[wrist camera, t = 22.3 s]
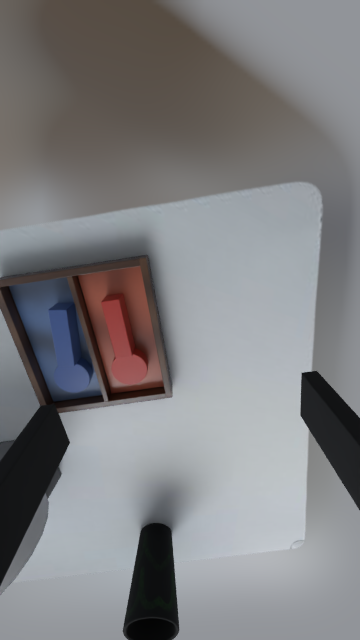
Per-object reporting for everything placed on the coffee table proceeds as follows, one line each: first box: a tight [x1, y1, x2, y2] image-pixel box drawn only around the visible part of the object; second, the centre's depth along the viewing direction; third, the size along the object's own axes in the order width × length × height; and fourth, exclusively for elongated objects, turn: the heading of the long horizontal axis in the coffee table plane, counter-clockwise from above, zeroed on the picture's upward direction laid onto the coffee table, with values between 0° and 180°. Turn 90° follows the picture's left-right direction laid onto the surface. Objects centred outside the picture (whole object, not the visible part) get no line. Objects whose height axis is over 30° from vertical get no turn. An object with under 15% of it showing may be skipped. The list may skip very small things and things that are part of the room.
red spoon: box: [101, 293, 148, 385], centre depth 31 cm, size 11×4×3 cm, turn 8°
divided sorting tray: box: [0, 255, 172, 413], centre depth 32 cm, size 18×17×2 cm
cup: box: [123, 523, 179, 640], centre depth 41 cm, size 8×8×12 cm
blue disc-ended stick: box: [48, 303, 93, 393], centre depth 31 cm, size 11×4×3 cm, turn 179°
